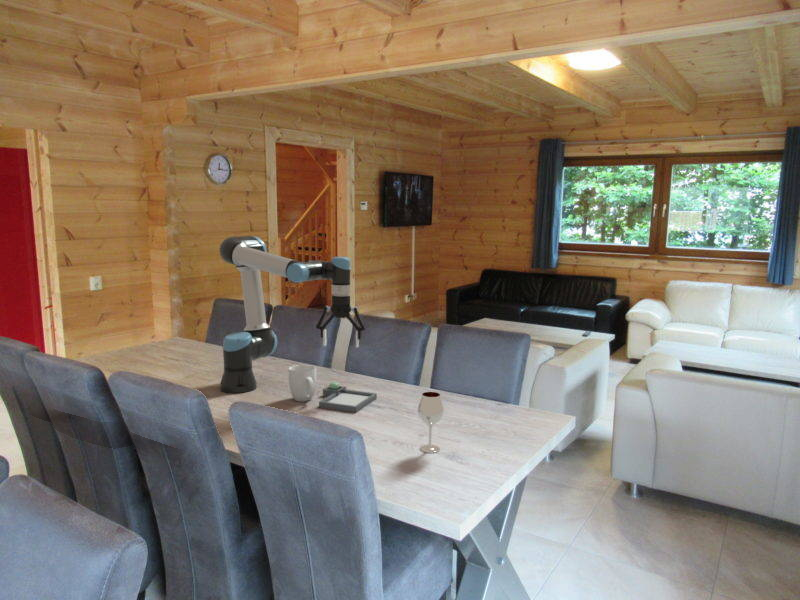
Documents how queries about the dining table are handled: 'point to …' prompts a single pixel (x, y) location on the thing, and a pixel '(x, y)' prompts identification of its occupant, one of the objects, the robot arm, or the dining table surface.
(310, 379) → the mug
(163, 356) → the dining table surface
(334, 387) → the button
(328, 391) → the grey square frame
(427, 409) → the wineglass
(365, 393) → the tray
